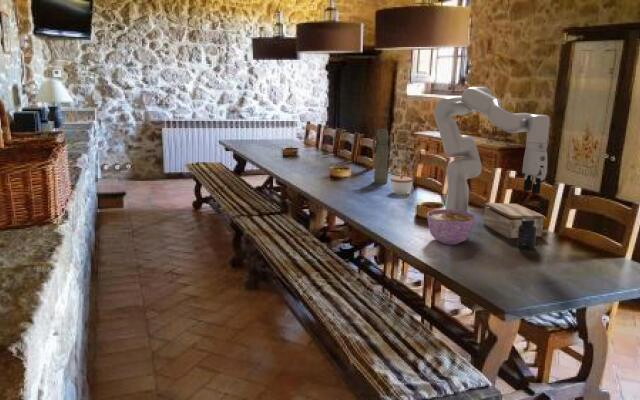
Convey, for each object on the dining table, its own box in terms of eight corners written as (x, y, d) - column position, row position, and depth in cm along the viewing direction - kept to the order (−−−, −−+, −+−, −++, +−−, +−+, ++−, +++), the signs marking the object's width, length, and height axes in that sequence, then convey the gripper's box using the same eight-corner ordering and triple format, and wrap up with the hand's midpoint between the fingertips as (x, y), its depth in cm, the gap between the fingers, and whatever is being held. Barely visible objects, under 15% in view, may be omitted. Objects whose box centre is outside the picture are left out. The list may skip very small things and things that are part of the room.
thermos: (392, 183, 329) (394, 129, 321) (375, 184, 325) (377, 130, 316) (385, 180, 337) (387, 128, 329) (369, 181, 333) (371, 128, 324)
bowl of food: (438, 231, 227) (439, 206, 224) (481, 240, 215) (483, 214, 212) (416, 242, 212) (418, 216, 209) (461, 252, 200) (463, 224, 197)
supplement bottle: (519, 243, 211) (522, 215, 208) (536, 246, 207) (539, 218, 204) (514, 247, 206) (517, 219, 203) (531, 251, 202) (534, 222, 199)
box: (507, 238, 218) (509, 220, 216) (483, 223, 239) (484, 207, 237) (541, 236, 220) (543, 218, 218) (514, 222, 241) (516, 206, 239)
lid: (509, 218, 216) (510, 215, 215) (485, 205, 237) (485, 203, 236) (543, 218, 218) (544, 215, 218) (516, 206, 239) (516, 203, 239)
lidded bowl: (413, 195, 295) (414, 177, 292) (391, 195, 295) (392, 177, 292) (409, 191, 307) (410, 173, 304) (389, 190, 307) (389, 173, 304)
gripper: (558, 149, 189) (553, 196, 193) (532, 143, 205) (527, 187, 210) (540, 150, 188) (535, 197, 192) (515, 144, 204) (511, 187, 208)
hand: (531, 191), depth 201 cm, fingers open, 4 cm apart
